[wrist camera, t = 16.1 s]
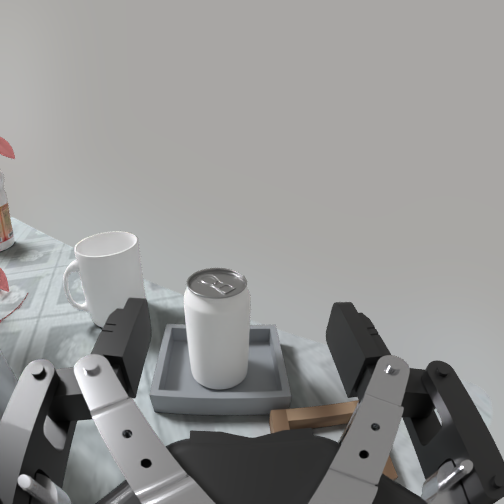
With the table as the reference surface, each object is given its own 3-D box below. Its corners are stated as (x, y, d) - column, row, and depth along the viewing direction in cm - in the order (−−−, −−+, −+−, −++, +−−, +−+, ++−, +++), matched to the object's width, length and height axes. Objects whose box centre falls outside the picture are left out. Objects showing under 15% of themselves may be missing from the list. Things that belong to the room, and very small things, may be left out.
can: (218, 345, 37) (217, 260, 32) (258, 370, 33) (265, 280, 28) (180, 370, 32) (168, 281, 27) (220, 401, 28) (216, 309, 24)
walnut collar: (281, 507, 18) (284, 501, 17) (269, 420, 27) (270, 410, 26) (389, 485, 19) (397, 477, 18) (360, 409, 28) (365, 399, 27)
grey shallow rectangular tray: (154, 411, 27) (149, 394, 26) (169, 341, 38) (166, 323, 37) (287, 412, 28) (291, 396, 27) (273, 341, 39) (275, 324, 38)
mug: (159, 313, 44) (151, 242, 39) (93, 348, 35) (71, 271, 30) (128, 291, 49) (118, 227, 44) (68, 317, 40) (50, 249, 35)
